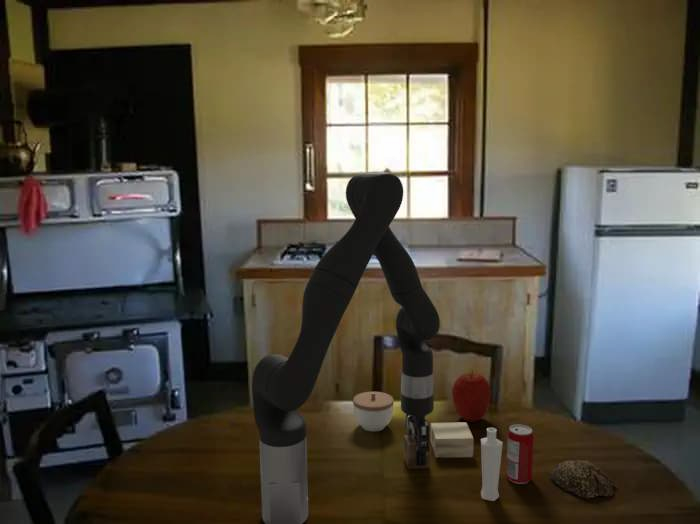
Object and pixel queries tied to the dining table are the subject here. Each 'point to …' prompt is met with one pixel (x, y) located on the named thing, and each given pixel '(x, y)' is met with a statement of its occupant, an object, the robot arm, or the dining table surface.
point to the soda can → (519, 454)
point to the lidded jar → (373, 410)
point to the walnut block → (413, 453)
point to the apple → (471, 396)
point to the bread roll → (582, 479)
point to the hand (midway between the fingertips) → (416, 456)
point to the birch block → (451, 440)
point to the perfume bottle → (490, 464)
